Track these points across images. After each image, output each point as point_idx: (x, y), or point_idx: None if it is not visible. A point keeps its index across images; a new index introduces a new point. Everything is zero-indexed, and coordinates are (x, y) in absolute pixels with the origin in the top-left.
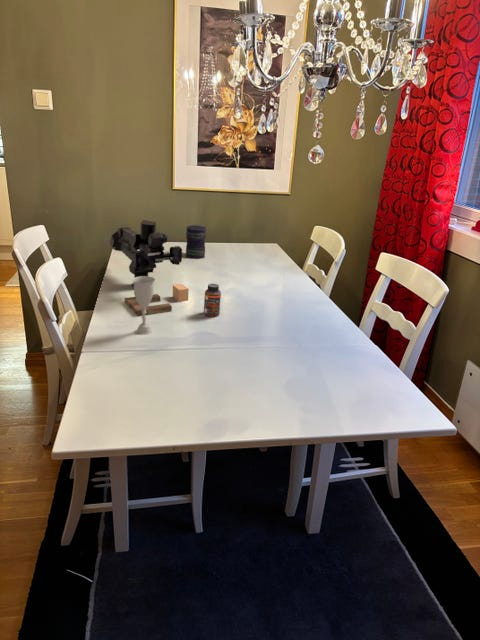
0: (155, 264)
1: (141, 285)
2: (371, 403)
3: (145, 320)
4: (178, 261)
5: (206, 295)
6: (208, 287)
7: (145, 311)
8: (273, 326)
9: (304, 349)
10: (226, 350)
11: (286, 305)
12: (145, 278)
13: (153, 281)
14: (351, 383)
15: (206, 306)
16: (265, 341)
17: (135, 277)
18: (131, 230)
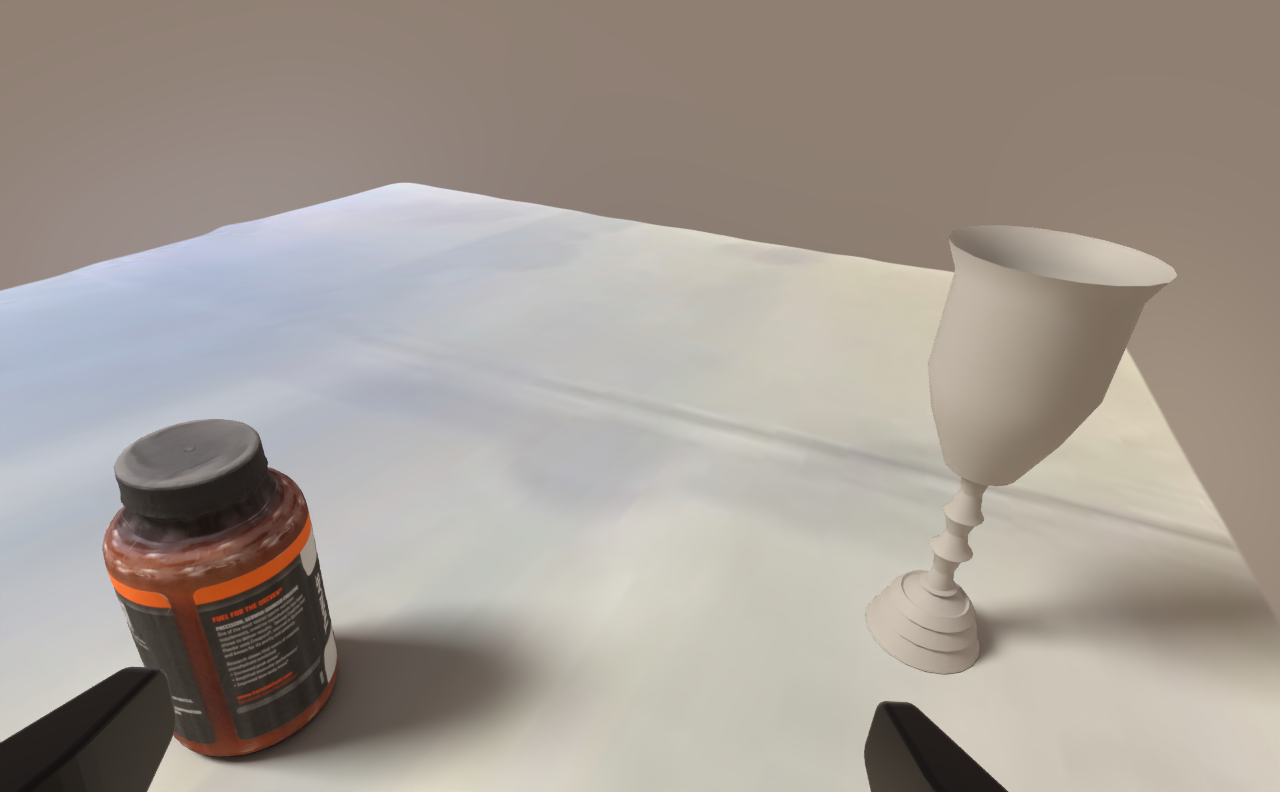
0: (901, 716)
1: (1057, 260)
2: (441, 214)
3: (934, 559)
4: (134, 678)
5: (307, 529)
6: (257, 469)
7: (954, 497)
8: (149, 427)
9: (303, 310)
10: (571, 377)
11: None
12: (1044, 294)
13: (961, 234)
14: (397, 236)
15: (326, 611)
16: (362, 369)
17: (1159, 284)
18: None
